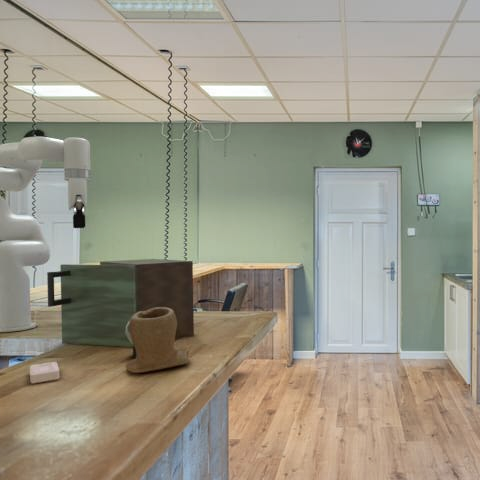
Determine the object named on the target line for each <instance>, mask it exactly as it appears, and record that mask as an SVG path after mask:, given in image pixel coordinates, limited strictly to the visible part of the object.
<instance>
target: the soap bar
mask: <svg viewBox="0 0 480 480" xmlns="http://www.w3.org/2000/svg"><path fill="white" fill-rule="evenodd" d="M29 379H30V384H33V385H34V384H39V383H45V382H52V381H58V380H59V379H60V368H59V365H58V362H56V361H51V362H43V363H36V364H31V365H30V366H29Z"/></svg>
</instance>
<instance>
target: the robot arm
mask: <svg viewBox="0 0 480 480" xmlns="http://www.w3.org/2000/svg"><path fill="white" fill-rule="evenodd" d="M43 161H47V162H55V163H61V164H63V176H64V181H67V199H68V200H67V204H68V211H72V210H73V215H72V228H73V229H85V227H86V214H85V210H86V209H87V205H88V182H92V171H91V170H92V169H91V168H92V167H91V143H90V141H89V140H88V139H86V138H83V137H66V138H65V139H63V140H62V139H58V138H54V137H47V136H41V135H39V136H28V137H24V138H23V137H22V139H21V140H20V141H18V142H17V141H16V142H9V143H8V142H7V143H1V144H0V191H3V192H13V193H14V192H22V191H24V190H25V189H26V188H28V186H29V184H30V183H31V182H32V181H33V179H34V177H36V175H37V173H38V172H39V170H40V169H41V167H42V165H43ZM50 259H51V250H50V246H49V243H48V241H47V238H46V236H45V233H44V231H43V228H42V226H41V223H40V222H39V221H38V220H37V219H36V218H35V217H34V216H32V215H27V214H15V213H13V211H12V210H11V208H10V205H9V203H8V201H7V200H6V199H5V198H4V197H3V196H2V195H0V333H10V332H21V331H26V330H30V329H34V328H36V327H37V323H36V322H32V321H31V280H30V277H29V274H28V273H27V271H26V270H25V269H24V267H35V266H36V267H37V266H42V265H45V264H47V263H48V262H49V260H50Z"/></svg>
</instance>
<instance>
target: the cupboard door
mask: <svg viewBox="0 0 480 480" xmlns="http://www.w3.org/2000/svg"><path fill="white" fill-rule="evenodd" d="M59 269H60V270H57V271H56V270H55V271H48V272H46V276H47V278H46V279H47V280H46V281H47V283H46V285H47V307H48V308H52V307H56V306H61V307H60V308H61V310H60V311H61V313H60V315H61V343H62V344H75V345H91V346H106V347H107V346H108V347H124V348H133V344H132V343H131V342H130V341H129V339H128V338H127V336H126V333H125V331H126V325H127V323H128V322H129V321H130V318H131V317H132V316H133V315H134V314H135V313H136V283H135V265H100V264H66V263H65V264H64V263H63V264H60V268H59ZM55 278H60V298H58V299H55ZM127 328H128V331H129V334H130V324H129V325H128V327H127Z"/></svg>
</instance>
